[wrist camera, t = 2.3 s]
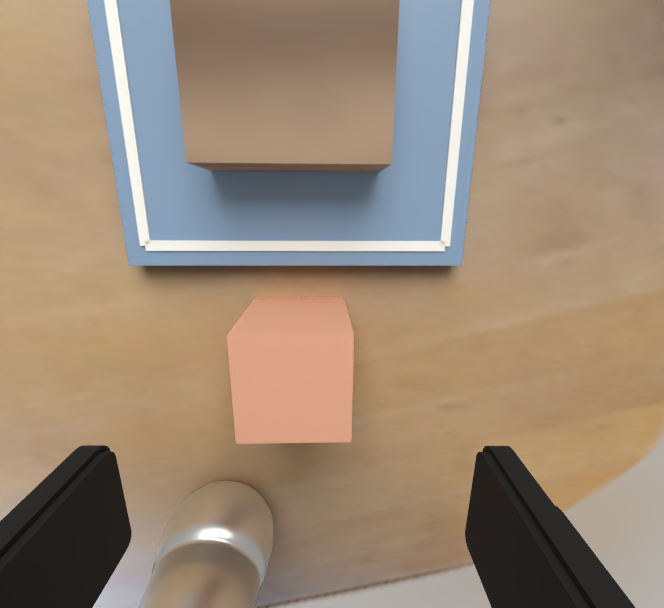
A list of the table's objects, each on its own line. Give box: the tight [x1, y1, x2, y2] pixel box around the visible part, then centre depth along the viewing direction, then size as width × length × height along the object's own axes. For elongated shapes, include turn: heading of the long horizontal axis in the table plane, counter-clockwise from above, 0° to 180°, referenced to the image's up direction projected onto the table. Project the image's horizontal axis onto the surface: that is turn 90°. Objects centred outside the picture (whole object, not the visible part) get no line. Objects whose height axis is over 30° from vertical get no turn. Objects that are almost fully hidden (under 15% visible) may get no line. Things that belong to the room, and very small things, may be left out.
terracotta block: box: [227, 297, 354, 444], centre depth 17 cm, size 5×5×6 cm
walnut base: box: [170, 0, 400, 172], centre depth 14 cm, size 8×8×3 cm
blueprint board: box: [87, 0, 490, 266], centre depth 16 cm, size 17×17×1 cm
